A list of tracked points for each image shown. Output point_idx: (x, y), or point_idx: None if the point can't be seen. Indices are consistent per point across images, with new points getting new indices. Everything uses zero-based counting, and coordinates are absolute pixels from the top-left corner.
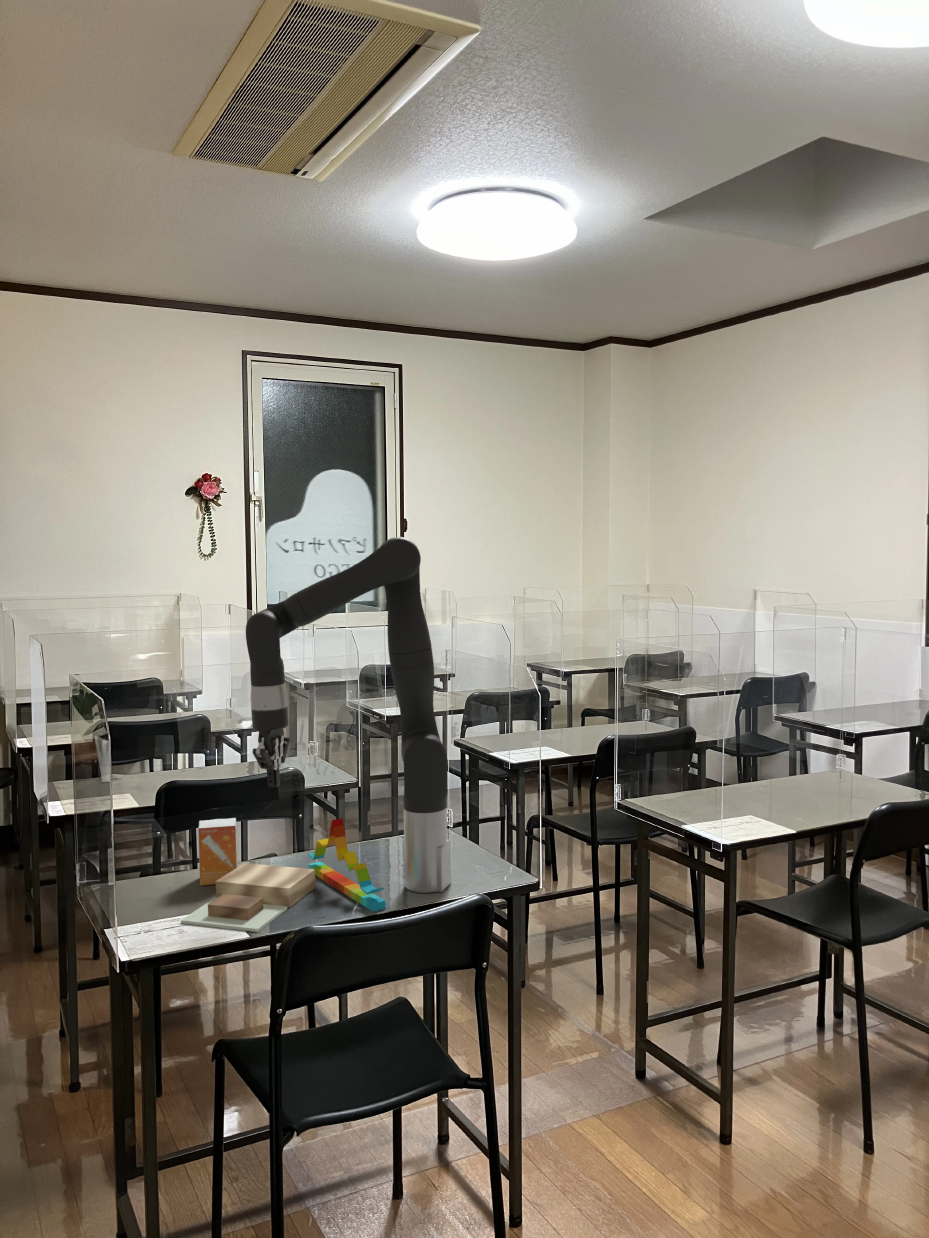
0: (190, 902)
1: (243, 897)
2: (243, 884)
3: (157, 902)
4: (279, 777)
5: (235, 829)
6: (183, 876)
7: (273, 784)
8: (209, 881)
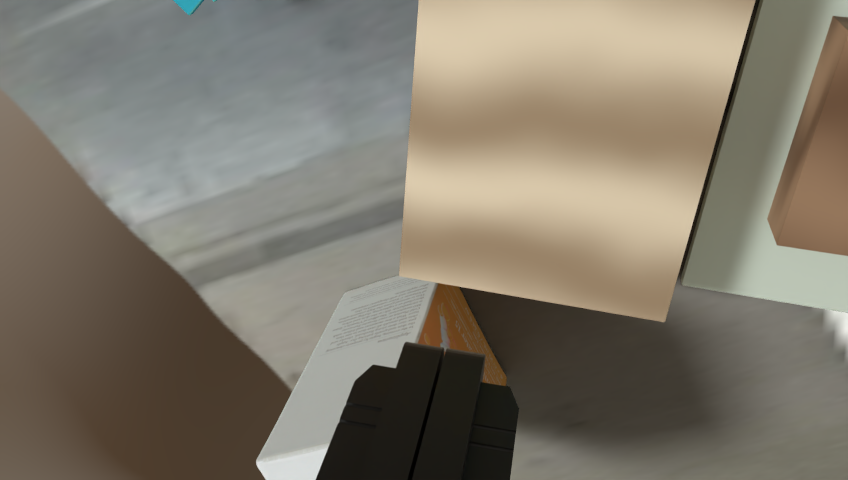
0: (692, 357)
1: (836, 136)
2: (702, 187)
3: (695, 461)
4: (397, 400)
5: None
6: None
7: (513, 399)
8: (490, 358)
